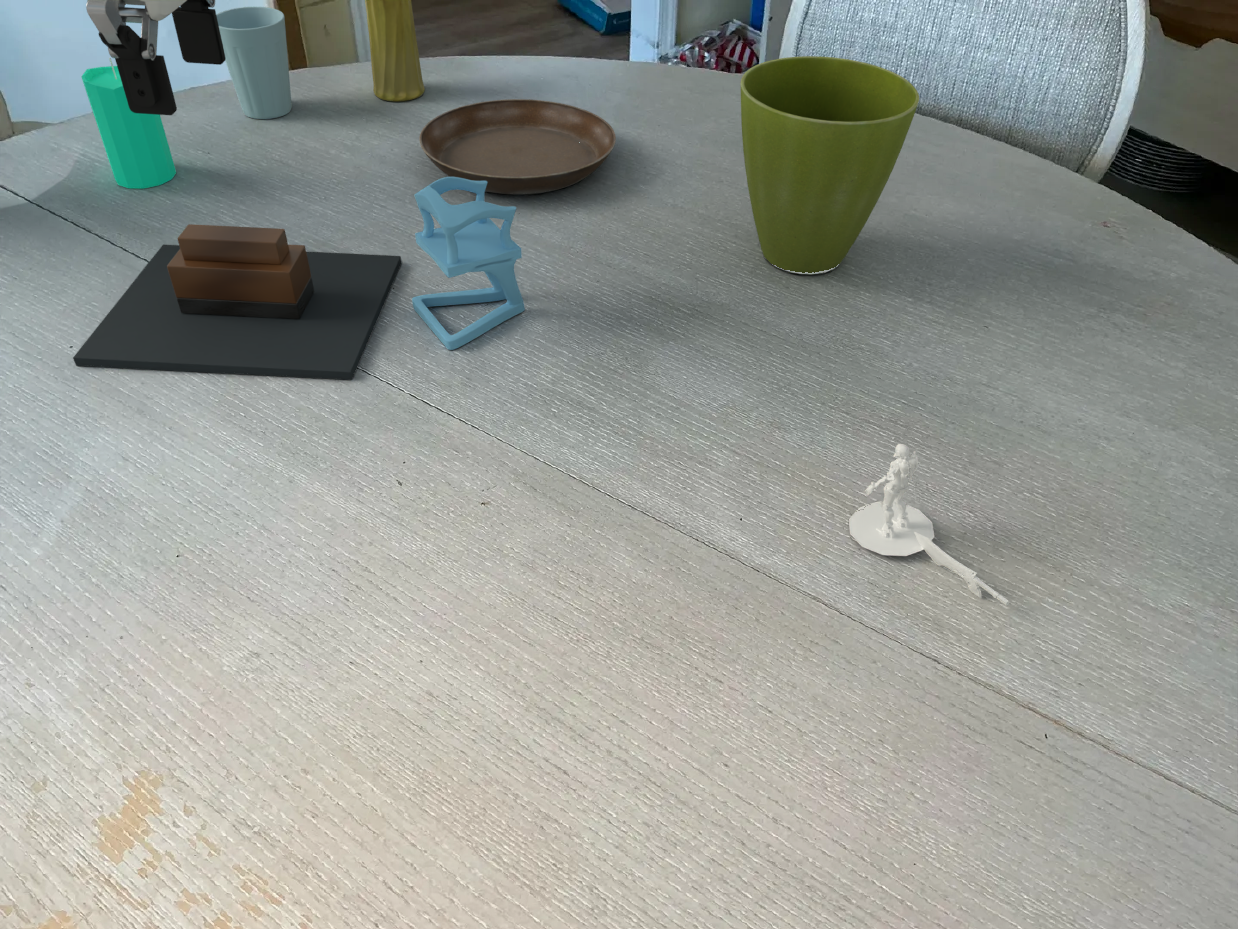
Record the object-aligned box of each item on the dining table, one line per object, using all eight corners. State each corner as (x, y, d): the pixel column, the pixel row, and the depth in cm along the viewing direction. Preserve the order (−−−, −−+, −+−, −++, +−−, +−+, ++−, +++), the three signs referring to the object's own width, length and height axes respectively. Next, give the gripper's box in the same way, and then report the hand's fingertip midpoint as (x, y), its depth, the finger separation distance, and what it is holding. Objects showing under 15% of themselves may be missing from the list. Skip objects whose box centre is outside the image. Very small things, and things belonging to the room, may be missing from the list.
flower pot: (744, 206, 103) (763, 45, 92) (892, 233, 99) (929, 69, 88) (704, 278, 92) (720, 104, 81) (868, 311, 88) (907, 134, 78)
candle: (102, 184, 103) (62, 65, 95) (136, 159, 107) (101, 44, 99) (155, 192, 102) (118, 72, 94) (187, 166, 106) (155, 50, 98)
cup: (219, 109, 118) (197, 15, 111) (278, 92, 122) (260, 1, 115) (254, 129, 114) (234, 33, 107) (313, 110, 118) (297, 18, 111)
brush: (181, 313, 84) (159, 243, 80) (200, 285, 87) (180, 217, 83) (299, 319, 84) (284, 249, 80) (314, 291, 87) (300, 222, 83)
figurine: (885, 502, 71) (896, 408, 67) (1033, 592, 64) (1058, 493, 59) (829, 537, 69) (836, 442, 64) (976, 636, 61) (997, 536, 56)
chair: (538, 323, 86) (534, 192, 78) (448, 351, 82) (434, 217, 74) (497, 282, 91) (489, 154, 83) (411, 306, 87) (394, 176, 79)
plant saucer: (487, 110, 119) (486, 82, 117) (646, 147, 113) (647, 118, 111) (383, 179, 105) (379, 149, 103) (557, 225, 99) (557, 194, 96)
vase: (363, 91, 123) (345, -35, 113) (405, 79, 126) (391, -45, 117) (393, 106, 120) (376, -23, 110) (435, 93, 123) (422, -33, 114)
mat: (75, 365, 80) (72, 357, 79) (165, 251, 93) (162, 243, 93) (352, 380, 79) (350, 371, 79) (401, 263, 93) (400, 255, 92)
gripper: (114, -210, 70) (176, 42, 82) (-18, -160, 57) (77, 131, 69) (221, -203, 70) (268, 48, 82) (112, -152, 57) (186, 138, 69)
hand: (180, 86), depth 75 cm, fingers open, 9 cm apart
